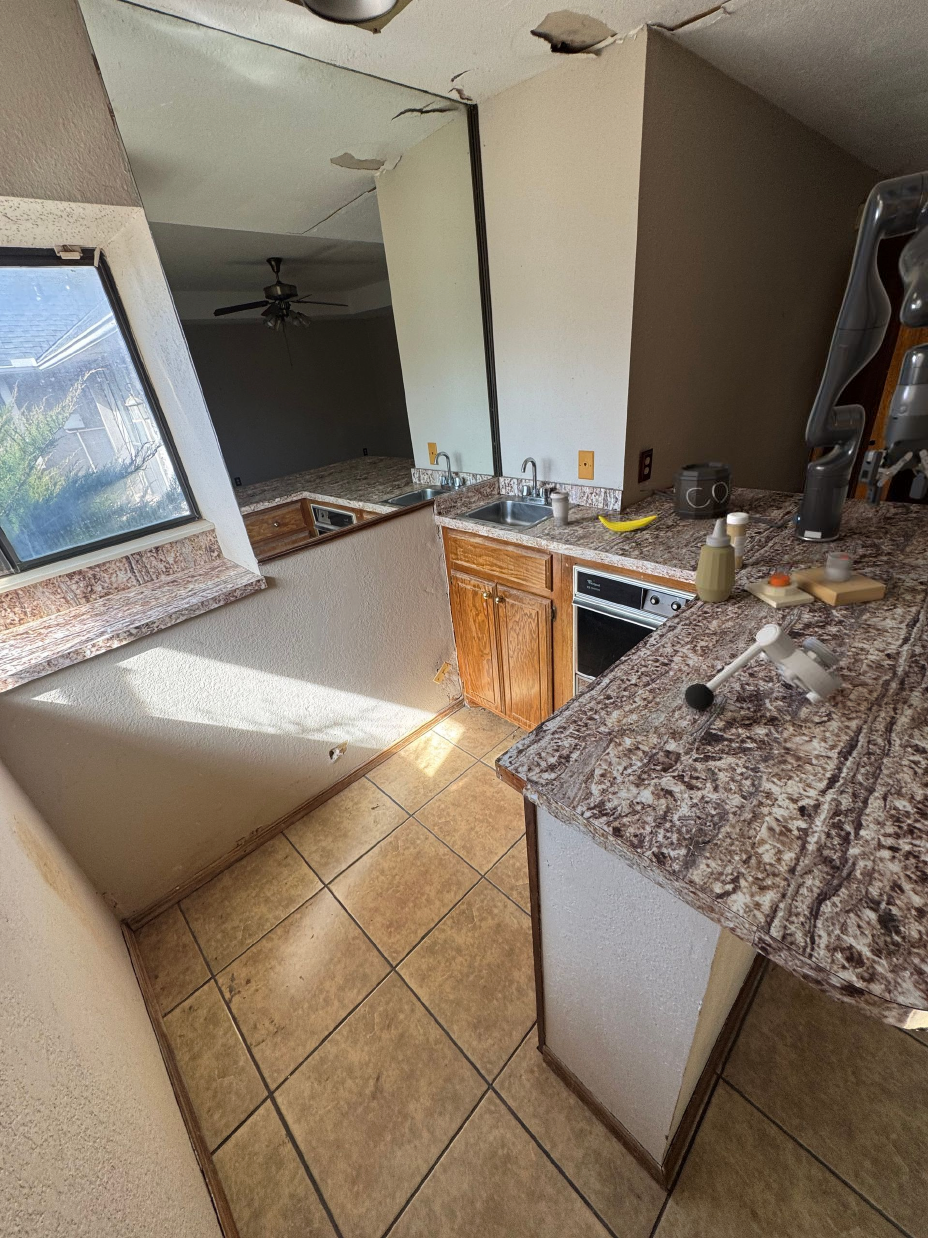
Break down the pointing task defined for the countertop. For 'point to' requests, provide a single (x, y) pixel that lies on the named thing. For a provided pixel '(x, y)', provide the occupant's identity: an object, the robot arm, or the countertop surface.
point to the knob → (839, 566)
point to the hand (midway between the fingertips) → (894, 501)
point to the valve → (789, 661)
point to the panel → (838, 587)
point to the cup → (560, 507)
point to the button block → (779, 593)
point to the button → (779, 580)
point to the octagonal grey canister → (703, 490)
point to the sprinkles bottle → (737, 534)
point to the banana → (626, 524)
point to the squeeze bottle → (716, 566)
